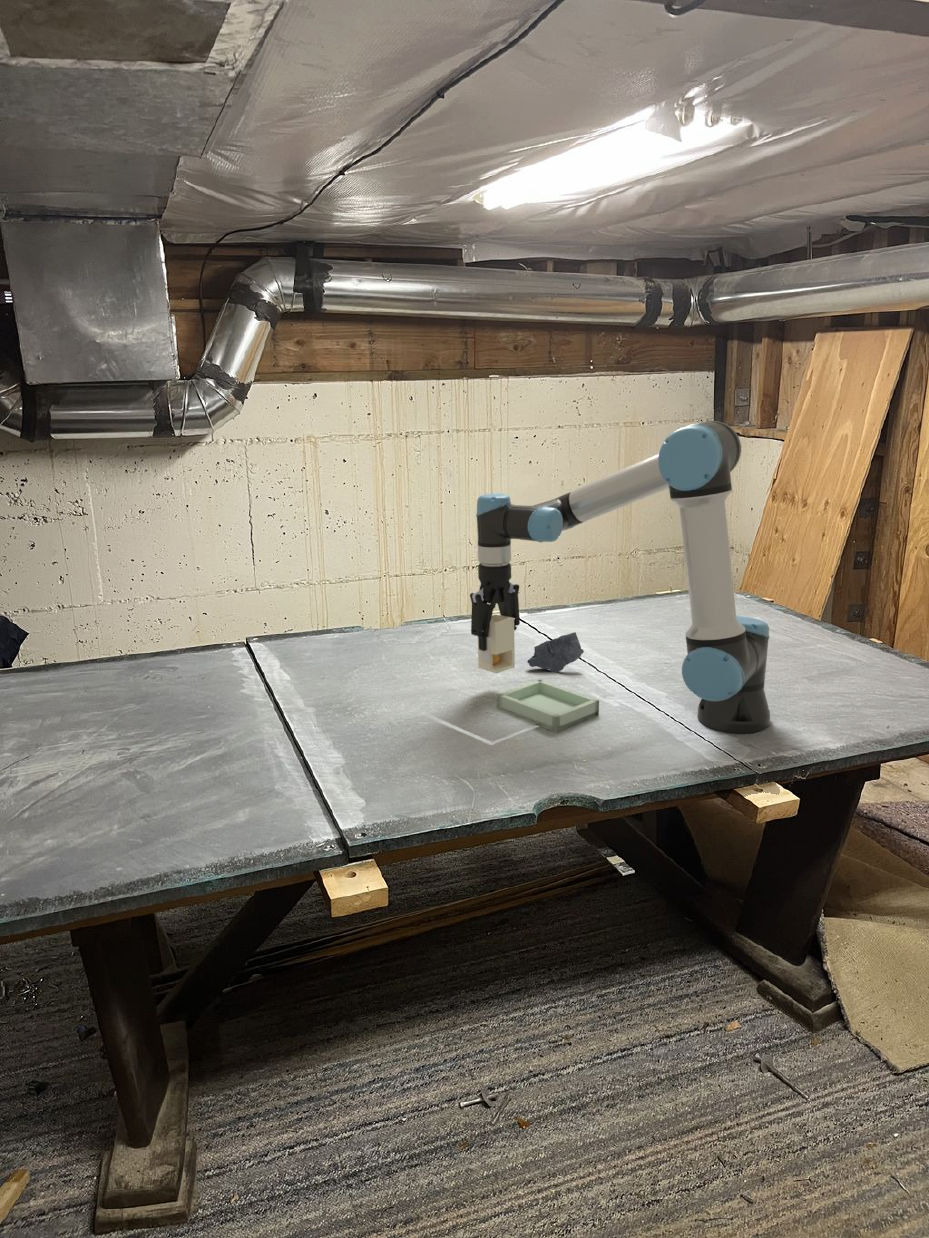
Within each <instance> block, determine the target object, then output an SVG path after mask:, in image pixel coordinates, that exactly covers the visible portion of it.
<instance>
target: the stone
mask: <svg viewBox="0 0 929 1238" xmlns="http://www.w3.org/2000/svg"><path fill="white" fill-rule="evenodd" d="M533 648H534V653H533V655H532V656H531V657H530V658H529V659H528V660H527V664H528V665H529V666H530V667H531V668H534V667H538V668H540V669H542V670H543V669H544V670H548V671H550V672H551V673H555V674H559V673H560V672H561V671H563V670H564V668H565V667H566V666H567V665H569V664H572V663H573V662H575V661H577V660H578V659H581V657H582V655H583V653H585V651H584V649H583V648H582V646H581V643H580V640H579V637H578V635H577V632H571V633H567V634H563V635H560V636H559V637H556V638H554V639H550V640H546V641H543V642H542V643H540V644H538V645H535V646H534V647H533Z"/></svg>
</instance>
